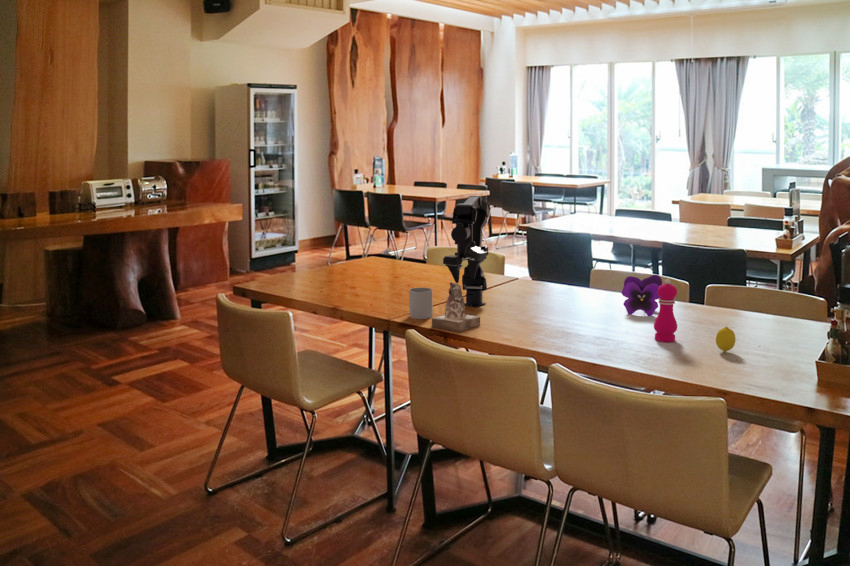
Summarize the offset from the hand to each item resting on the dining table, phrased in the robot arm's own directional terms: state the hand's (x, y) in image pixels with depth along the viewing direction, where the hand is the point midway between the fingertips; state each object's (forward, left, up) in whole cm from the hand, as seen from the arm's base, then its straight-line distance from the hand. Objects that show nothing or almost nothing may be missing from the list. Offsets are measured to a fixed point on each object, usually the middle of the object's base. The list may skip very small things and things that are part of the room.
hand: (465, 280), depth 281 cm
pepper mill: (-14, +71, -13) cm, 74 cm away
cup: (+11, -12, -13) cm, 21 cm away
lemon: (-12, +91, -13) cm, 93 cm away
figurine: (+14, +6, -10) cm, 18 cm away
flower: (-46, +48, -13) cm, 68 cm away
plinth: (+14, +7, -13) cm, 20 cm away
